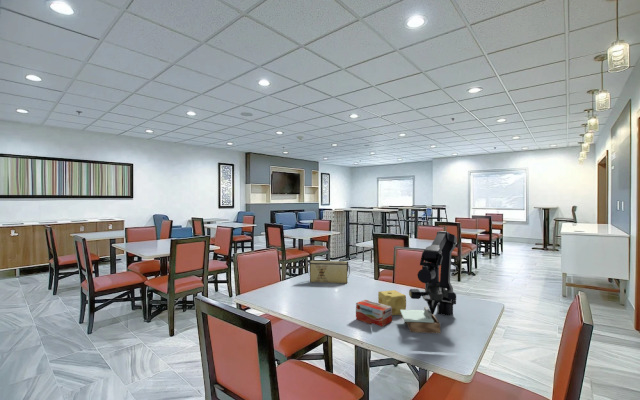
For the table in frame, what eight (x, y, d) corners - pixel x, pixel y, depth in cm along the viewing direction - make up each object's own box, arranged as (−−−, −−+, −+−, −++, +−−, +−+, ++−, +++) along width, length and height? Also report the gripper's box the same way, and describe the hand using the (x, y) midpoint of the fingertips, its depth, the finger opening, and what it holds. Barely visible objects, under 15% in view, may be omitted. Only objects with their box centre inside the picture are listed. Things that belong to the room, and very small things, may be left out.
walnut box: (432, 323, 139) (432, 313, 139) (440, 335, 127) (440, 323, 127) (405, 322, 140) (405, 312, 140) (410, 333, 128) (410, 322, 128)
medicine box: (392, 323, 139) (392, 306, 139) (382, 329, 133) (382, 310, 134) (365, 315, 150) (365, 298, 150) (355, 319, 144) (355, 302, 144)
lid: (426, 312, 139) (426, 305, 139) (433, 322, 127) (433, 315, 127) (400, 311, 140) (400, 304, 140) (404, 321, 128) (404, 313, 128)
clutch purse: (350, 281, 213) (350, 259, 213) (349, 284, 206) (349, 261, 206) (308, 280, 216) (308, 259, 216) (306, 282, 209) (306, 261, 209)
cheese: (387, 317, 146) (387, 297, 146) (377, 310, 156) (377, 290, 156) (406, 315, 149) (406, 295, 149) (395, 308, 159) (395, 289, 159)
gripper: (413, 282, 126) (414, 320, 126) (460, 283, 124) (461, 322, 124) (408, 276, 137) (408, 310, 137) (451, 277, 135) (452, 312, 135)
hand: (432, 314), depth 133 cm, fingers closed
